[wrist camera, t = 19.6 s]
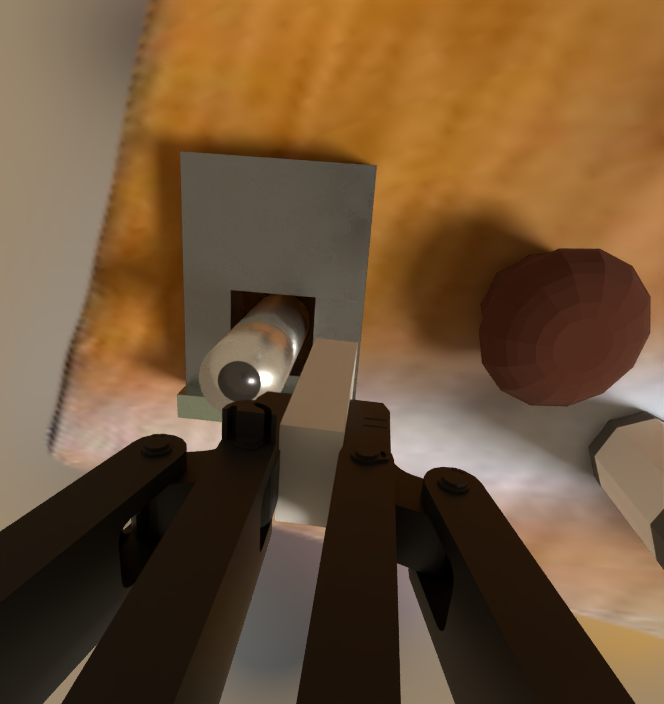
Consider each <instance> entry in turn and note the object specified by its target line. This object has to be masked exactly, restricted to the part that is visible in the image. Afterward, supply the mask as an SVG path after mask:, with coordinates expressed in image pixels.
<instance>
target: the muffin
mask: <svg viewBox="0 0 664 704" xmlns="http://www.w3.org/2000/svg"><path fill="white" fill-rule="evenodd" d="M481 309H482V313H483V320H482V322H481V325H480V328H479V337H480V347H481V357H482V364H483V366H484V367H485V368H486V370H487V371H488V373H489V374H490V376H491V377H492V378H493V380H494V381H495V383H496V384H497V386H498V387H499V388H500V390H501V391H503V392H505V393H507V394H509V395H511V396H513V397H515V398H517V399H519V400H521V401H523V402H525V403H527V404H529V405H539V406H569V405H572V404H575V403H577V402H580V401H583V400H586V399H588V398H591V397H594V396H597V395H599V394H602V393H604V392H605V391H606V390H607V389H608V388H610V387H611V386H612V385H613V384H614V383H615V382H617V381H618V380H619V379H620V378H621V377H622V376H623V375H625V374H626V373H627V372H628V371H629V370H630V369H632V368H633V366H634V364H635V362H636V360H637V358H638V356H639V354H640V352H641V350H642V348H643V346H644V344H645V342H646V340H647V338H648V336H649V334H650V295H649V293H648V292H647V290H646V288H645V287H644V285H643V283H642V281H641V280H640V278H639V276H638V275H637V273H636V271H635V270H634V268H633V266H631V265H629V264H627V263H626V262H624V261H622V260H620V259H618V258H616V257H614V256H612V255H611V254H609V253H607V252H605V251H603V250H601V249H557V250H555V251H552V252H550V253H548V254H539V255H528V256H526V257H525V258H523V259H522V260H520V261H519V262H517V263H516V264H515V265H513V266H511V267H509V268H507V269H505V270H502V271H500V272H498V273H496V275H495V278H494V280H493V283H492V285H491V288H490V290H489V291H488V293H487V295H486V296H485V298H484V299H483V301H482V303H481Z"/></svg>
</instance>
